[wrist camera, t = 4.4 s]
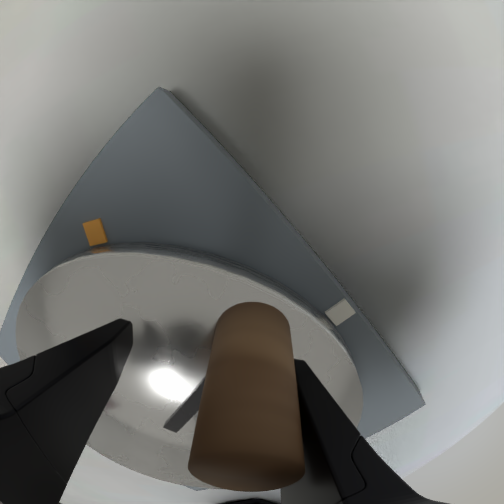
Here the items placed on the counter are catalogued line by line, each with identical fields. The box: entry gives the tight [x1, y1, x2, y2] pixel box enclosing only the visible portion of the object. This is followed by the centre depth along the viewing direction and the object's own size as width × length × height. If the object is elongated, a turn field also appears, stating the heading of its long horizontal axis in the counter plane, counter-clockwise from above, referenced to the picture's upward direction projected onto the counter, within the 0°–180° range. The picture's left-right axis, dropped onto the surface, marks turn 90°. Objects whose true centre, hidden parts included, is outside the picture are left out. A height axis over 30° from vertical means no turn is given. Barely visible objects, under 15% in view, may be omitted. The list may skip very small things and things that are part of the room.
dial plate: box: [0, 87, 425, 491], centre depth 14 cm, size 20×20×1 cm
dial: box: [15, 242, 363, 492], centre depth 10 cm, size 18×18×6 cm
